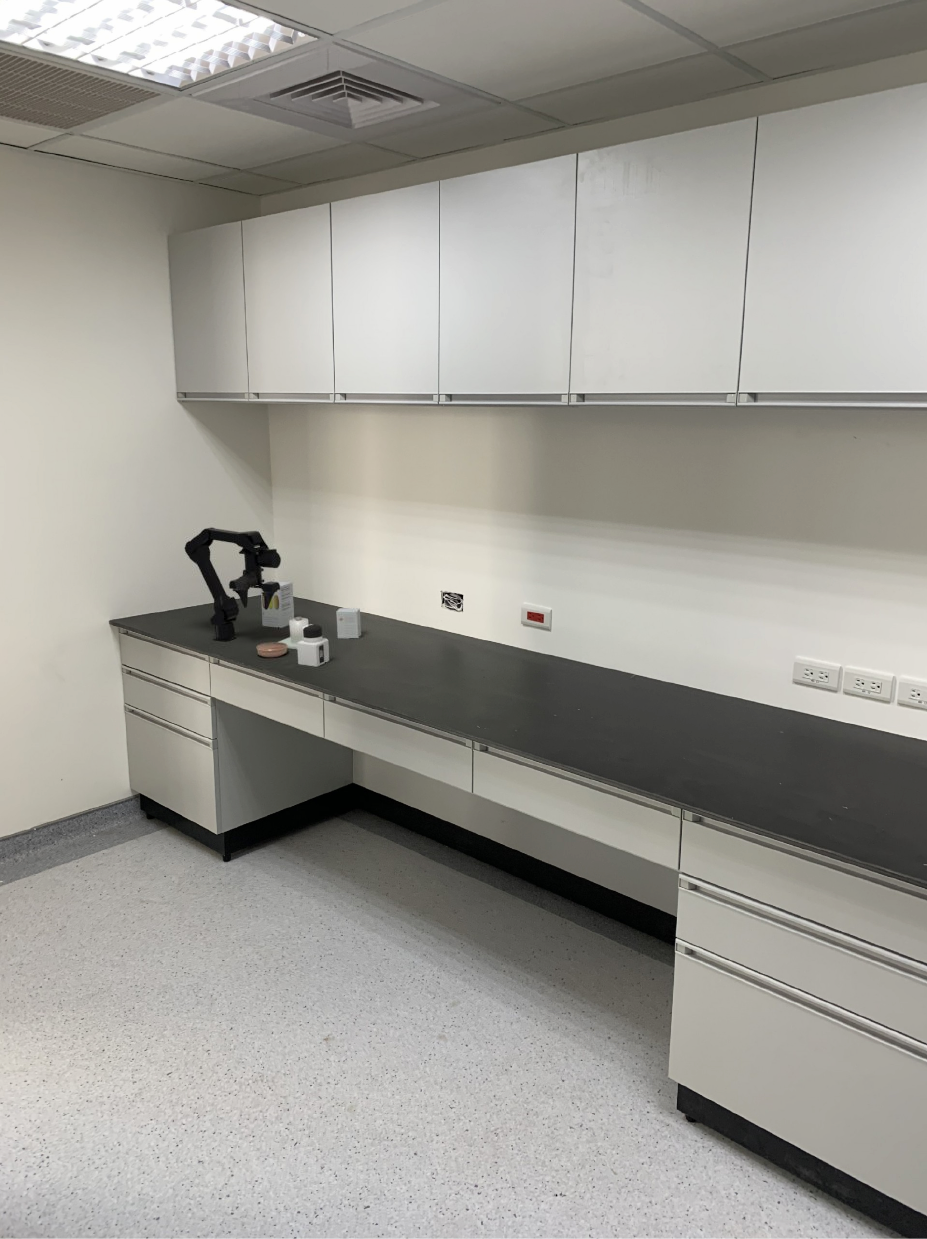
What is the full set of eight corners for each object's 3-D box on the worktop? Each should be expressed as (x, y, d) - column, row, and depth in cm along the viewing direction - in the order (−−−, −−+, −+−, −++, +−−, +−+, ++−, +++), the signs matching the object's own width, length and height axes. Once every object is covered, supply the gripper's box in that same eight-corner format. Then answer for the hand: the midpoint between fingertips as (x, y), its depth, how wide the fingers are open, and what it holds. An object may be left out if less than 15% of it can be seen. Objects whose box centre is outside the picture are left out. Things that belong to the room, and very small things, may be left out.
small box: (361, 635, 335) (360, 608, 332) (358, 639, 330) (357, 611, 327) (340, 634, 336) (339, 607, 333) (337, 638, 330) (336, 611, 328)
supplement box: (261, 626, 349) (259, 584, 345) (275, 620, 358) (272, 580, 354) (282, 628, 346) (279, 586, 342) (295, 622, 354) (293, 581, 350)
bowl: (250, 656, 307) (250, 648, 307) (268, 649, 317) (268, 641, 316) (276, 660, 303) (275, 651, 302) (293, 652, 313) (293, 644, 312)
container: (329, 661, 302) (328, 624, 299) (316, 667, 295) (315, 629, 292) (310, 658, 305) (308, 622, 302) (297, 664, 298) (295, 627, 295)
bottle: (289, 644, 320) (288, 619, 318) (291, 639, 327) (290, 615, 325) (308, 643, 321) (307, 619, 319) (310, 638, 327) (308, 614, 325)
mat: (273, 646, 320) (273, 644, 320) (294, 636, 333) (294, 634, 333) (305, 650, 315) (305, 648, 315) (326, 640, 327) (326, 638, 327)
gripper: (217, 568, 315) (221, 611, 318) (261, 572, 307) (264, 615, 311) (237, 563, 325) (240, 604, 328) (279, 566, 317) (282, 608, 321)
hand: (255, 608), depth 322 cm, fingers open, 9 cm apart
